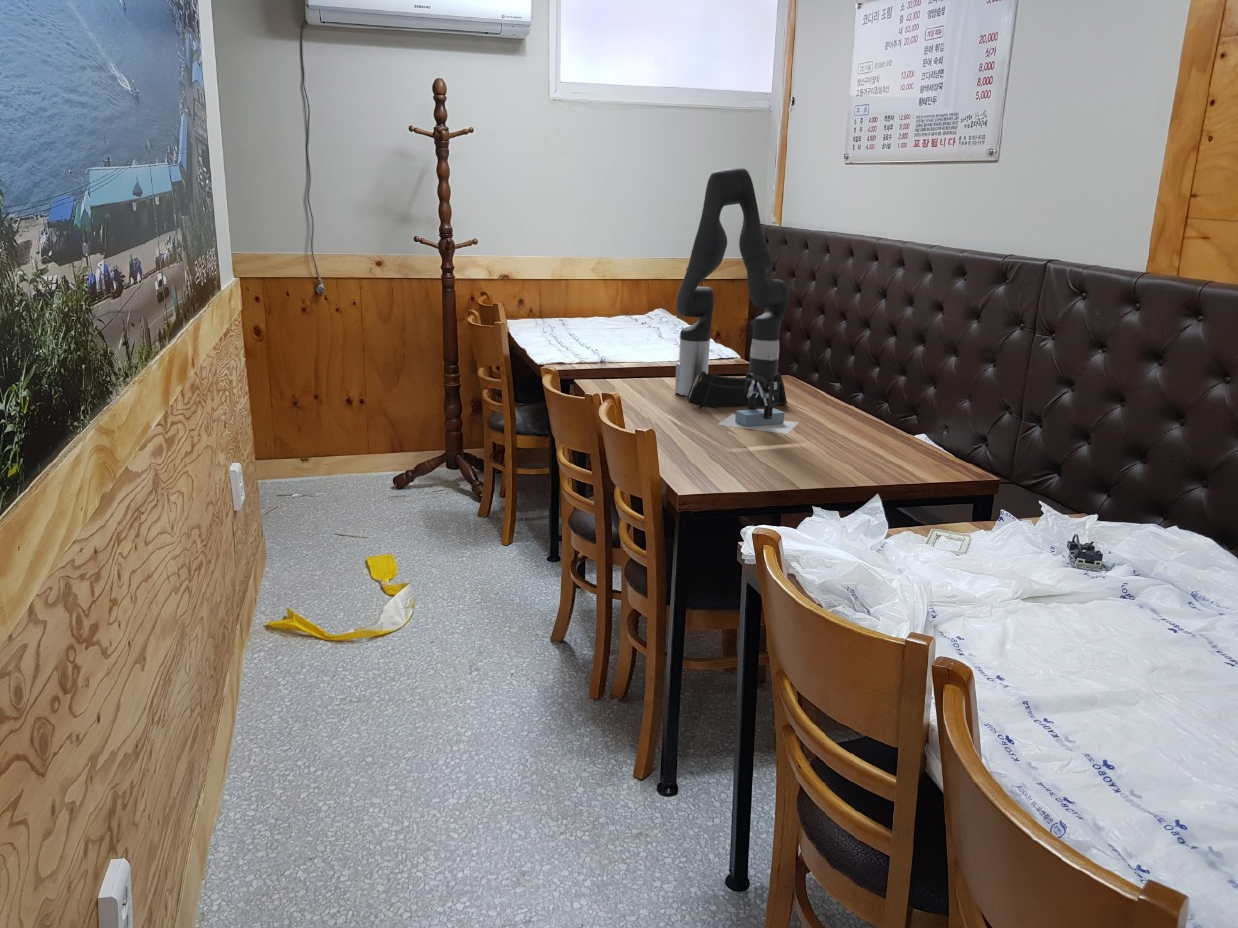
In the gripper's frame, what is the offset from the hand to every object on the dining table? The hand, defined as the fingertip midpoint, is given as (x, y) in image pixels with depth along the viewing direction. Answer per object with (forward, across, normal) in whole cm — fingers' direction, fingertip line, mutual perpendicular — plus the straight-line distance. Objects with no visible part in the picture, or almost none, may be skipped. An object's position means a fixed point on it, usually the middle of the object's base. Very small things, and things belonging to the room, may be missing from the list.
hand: (759, 415), depth 240 cm
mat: (+3, 0, 0) cm, 3 cm away
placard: (+1, 0, +6) cm, 6 cm away
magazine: (+3, -21, +5) cm, 22 cm away
